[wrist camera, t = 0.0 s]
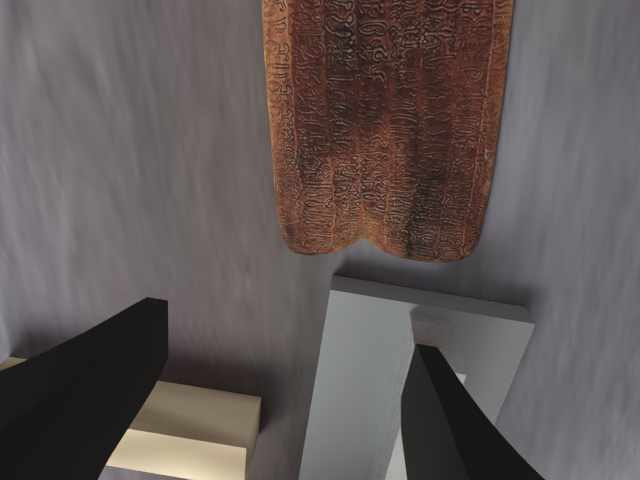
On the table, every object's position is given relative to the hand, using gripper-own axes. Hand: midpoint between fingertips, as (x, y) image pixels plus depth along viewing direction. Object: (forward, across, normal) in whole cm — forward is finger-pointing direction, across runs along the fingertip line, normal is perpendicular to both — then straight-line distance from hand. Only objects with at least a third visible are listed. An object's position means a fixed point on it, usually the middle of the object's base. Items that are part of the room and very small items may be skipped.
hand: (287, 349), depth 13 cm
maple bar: (+10, +10, +14) cm, 20 cm away
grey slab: (+10, -6, +10) cm, 15 cm away
